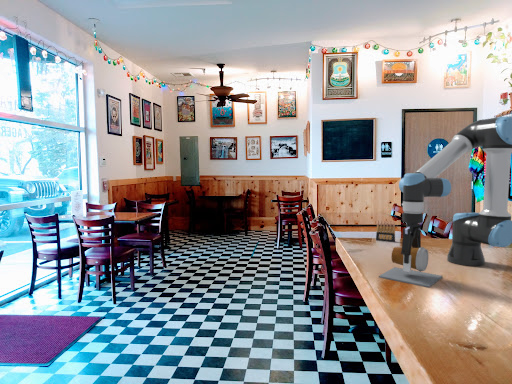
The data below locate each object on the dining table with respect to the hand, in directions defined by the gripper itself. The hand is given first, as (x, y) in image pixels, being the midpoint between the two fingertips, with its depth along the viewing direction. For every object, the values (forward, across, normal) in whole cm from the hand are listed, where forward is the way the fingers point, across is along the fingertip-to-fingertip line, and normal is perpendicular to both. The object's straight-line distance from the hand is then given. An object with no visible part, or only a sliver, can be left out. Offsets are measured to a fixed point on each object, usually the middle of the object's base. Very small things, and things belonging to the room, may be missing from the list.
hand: (410, 268), depth 148 cm
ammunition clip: (+4, -64, -36) cm, 74 cm away
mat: (+3, 0, 0) cm, 3 cm away
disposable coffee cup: (-5, 0, -7) cm, 8 cm away
